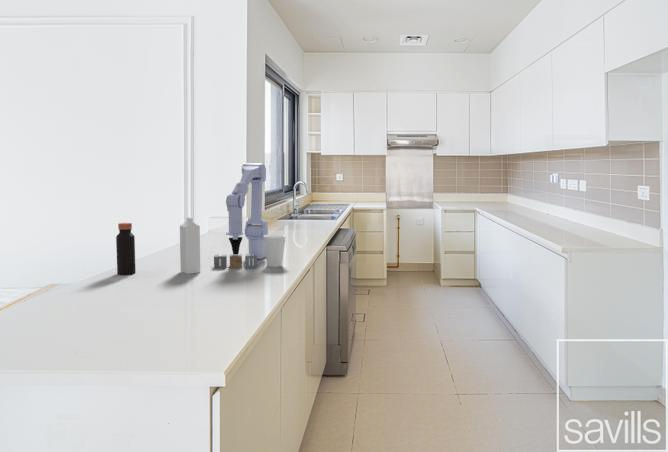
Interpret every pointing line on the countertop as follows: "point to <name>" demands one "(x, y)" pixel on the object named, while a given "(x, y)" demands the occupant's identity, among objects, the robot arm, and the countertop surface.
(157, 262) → the countertop surface
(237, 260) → the walnut block
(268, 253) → the foam cup
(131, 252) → the bottle
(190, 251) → the milk
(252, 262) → the slate block
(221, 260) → the charcoal block
